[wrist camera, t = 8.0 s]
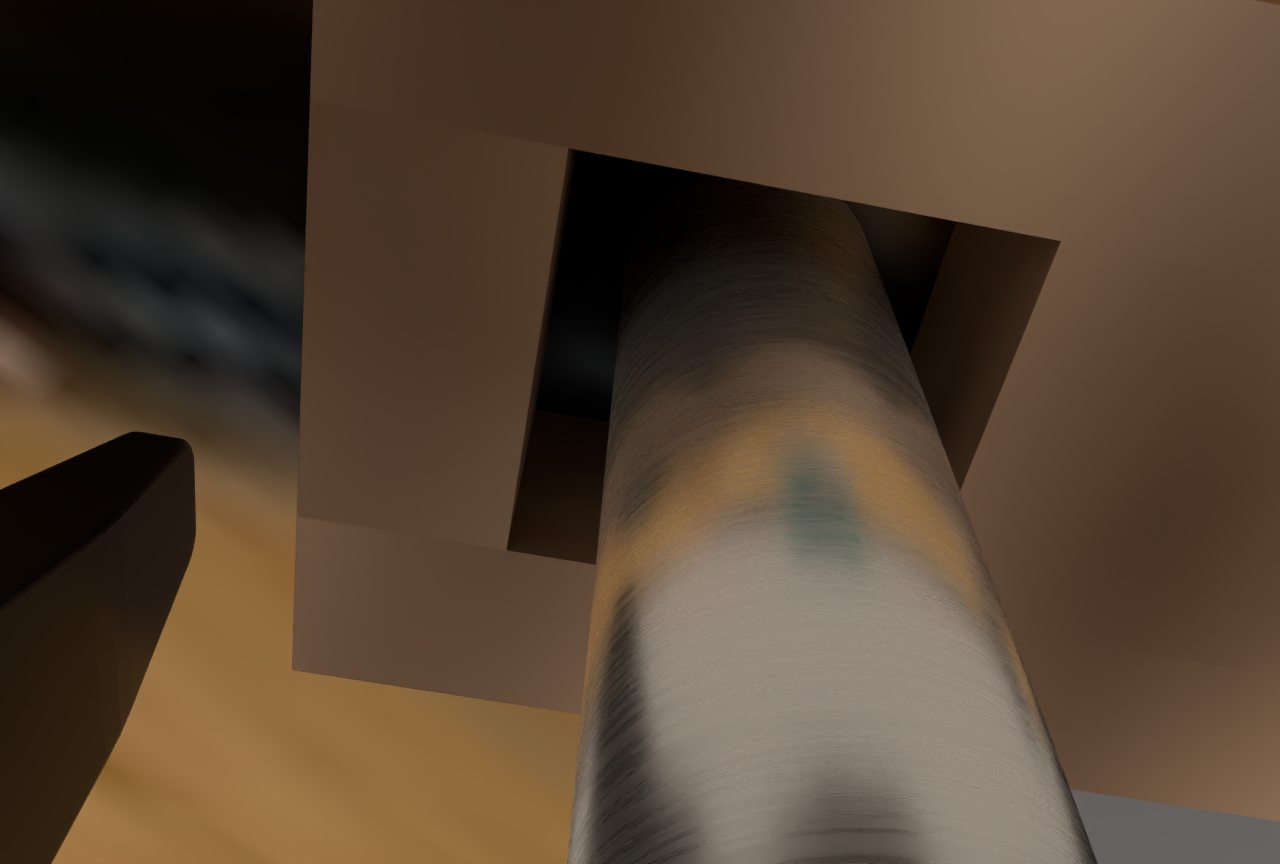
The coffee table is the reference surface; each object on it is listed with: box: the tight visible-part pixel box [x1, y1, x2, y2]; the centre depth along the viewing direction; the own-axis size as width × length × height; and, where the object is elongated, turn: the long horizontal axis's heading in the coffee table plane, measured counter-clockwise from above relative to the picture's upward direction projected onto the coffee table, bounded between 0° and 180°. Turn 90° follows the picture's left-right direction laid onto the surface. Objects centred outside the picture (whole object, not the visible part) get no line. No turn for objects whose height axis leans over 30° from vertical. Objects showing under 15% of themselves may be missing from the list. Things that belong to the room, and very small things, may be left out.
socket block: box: [292, 0, 1280, 821], centre depth 13 cm, size 18×9×3 cm, turn 80°
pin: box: [567, 173, 1098, 864], centre depth 10 cm, size 3×3×10 cm
